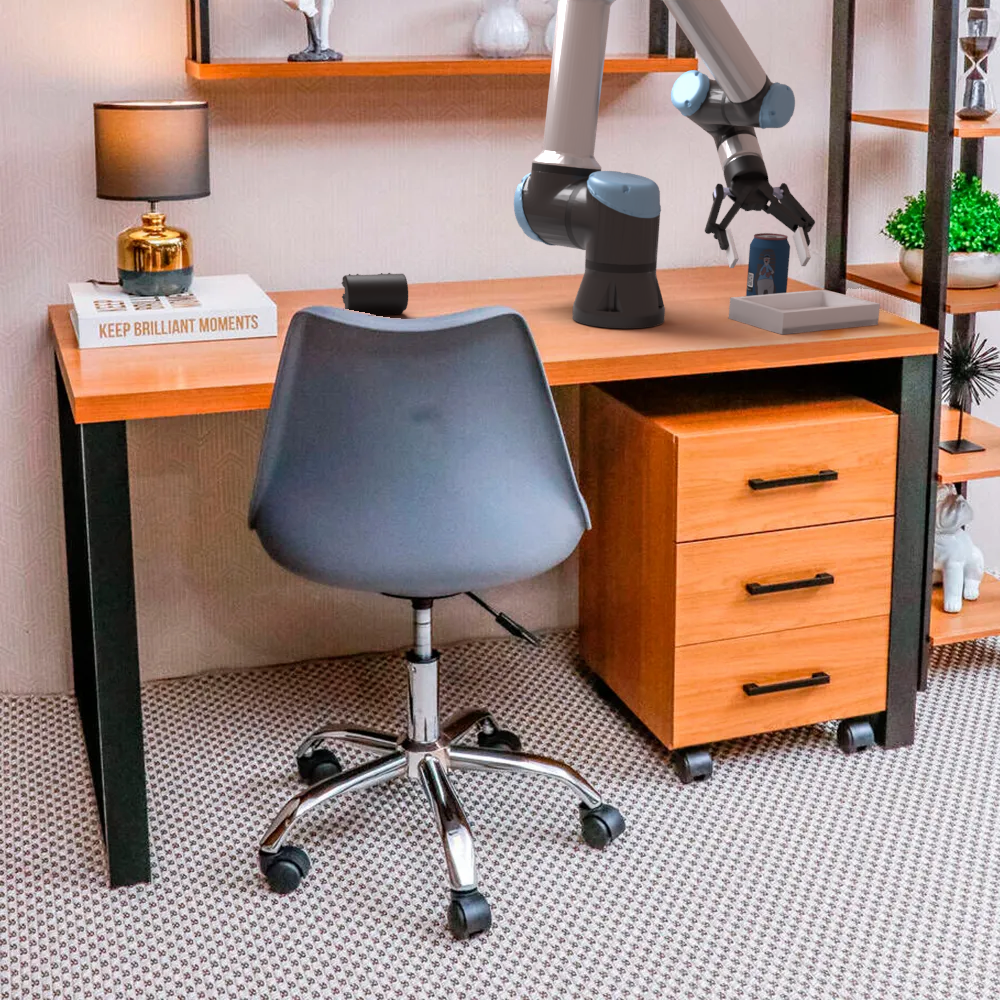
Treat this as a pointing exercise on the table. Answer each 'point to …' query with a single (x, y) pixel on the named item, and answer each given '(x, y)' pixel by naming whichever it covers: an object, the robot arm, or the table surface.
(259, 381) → the table surface
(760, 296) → the tray
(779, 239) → the soda can
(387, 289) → the end cap
